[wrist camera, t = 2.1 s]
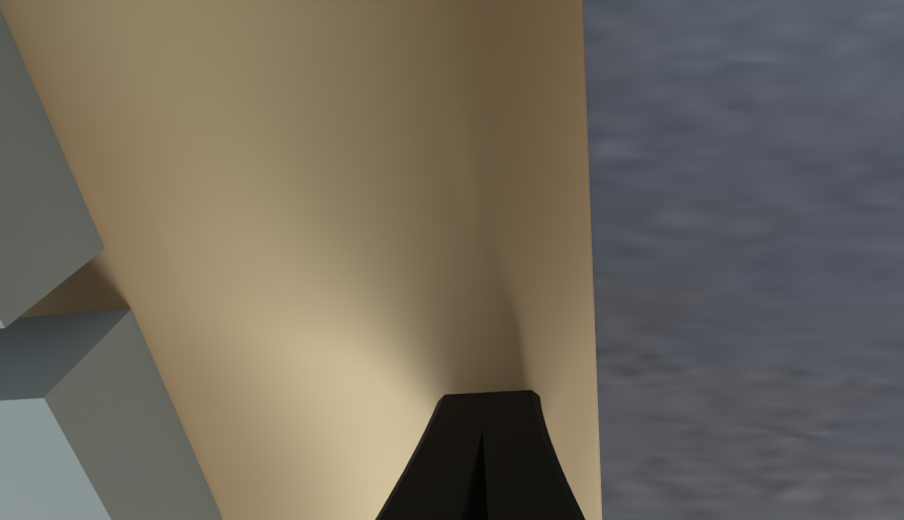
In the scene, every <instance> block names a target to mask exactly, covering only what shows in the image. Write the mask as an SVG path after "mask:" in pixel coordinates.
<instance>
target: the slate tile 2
mask: <svg viewBox="0 0 904 520" xmlns="http://www.w3.org/2000/svg"><path fill="white" fill-rule="evenodd" d="M222 519H223V518H222V515H221V513H220V511H219V508H218V506H217V504H216V501H215V499H214V497H213V495H212V492H211V490H210V488H209V485H208V483H207V481H206V479H205V476H204V474H203V472H202V469H201V467H200V465H199V463H198V460H197V458H196V456H195V453H194V451H193V449H192V446H191V444H190V442H189V440H188V437H187V435H186V433H185V430H184V428H183V426H182V424H181V421H180V419H179V417H178V414H177V412H176V410H175V408H174V405H173V403H172V401H171V398H170V396H169V394H168V391H167V389H166V387H165V385H164V382H163V380H162V378H161V375H160V373H159V371H158V369H157V366H156V364H155V362H154V359H153V357H152V355H151V352H150V350H149V348H148V346H147V343H146V341H145V339H144V336H143V334H142V332H141V330H140V327H139V325H138V323H137V320H136V318H135V316H134V314H133V311H132V309H122V310H110V311H97V312H84V313H71V314H59V315H46V316H33V317H21V318H17V319H16V320H15V321H13V322H12V323H11V324H10V325H8V326H7V327H6V328H0V520H222Z"/></svg>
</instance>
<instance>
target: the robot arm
mask: <svg viewBox="0 0 904 520" xmlns="http://www.w3.org/2000/svg"><path fill="white" fill-rule="evenodd" d="M375 520H585V517H584V515H583V513H582V511H581V509H580V507H579V505H578V503H577V501H576V498H575V496H574V494H573V492H572V490H571V488H570V486H569V484H568V481H567V479H566V477H565V474H564V472H563V470H562V467H561V465H560V463H559V460H558V457H557V455H556V452H555V449H554V447H553V444H552V442H551V439H550V436H549V433H548V430H547V426H546V423H545V419H544V415H543V411H542V406H541V399H540V396H539V395H538V394H537V393H535V392H534V391H533V390H519V391H500V392H482V393H463V394H445V395H444V396H443V397H442V398H441V399H440V400H439V401H438V402H437V404H436V407H435V409H434V411H433V414H432V416H431V418H430V420H429V422H428V424H427V426H426V429H425V431H424V433H423V435H422V437H421V439H420V441H419V443H418V445H417V447H416V448H415V450H414V452H413V454H412V456H411V458H410V460H409V462H408V463H407V465H406V467H405V469H404V471H403V473H402V474H401V476H400V478H399V480H398V481H397V483H396V485H395V486H394V488H393V490H392V492H391V493H390V495H389V497H388V499H387V500H386V502H385V504H384V505H383V507H382V509H381V511H380V512H379V514H378V516H377V517H376V519H375Z"/></svg>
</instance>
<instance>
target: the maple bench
mask: <svg viewBox="0 0 904 520" xmlns="http://www.w3.org/2000/svg"><path fill="white" fill-rule="evenodd" d="M0 9H1V11H2V13H3V15H4V18H5V20H6V22H7V25H8V27H9V29H10V32H11V34H12V36H13V38H14V41H15V43H16V45H17V48H18V50H19V52H20V54H21V57H22V59H23V61H24V64H25V66H26V68H27V70H28V73H29V75H30V77H31V80H32V82H33V84H34V87H35V89H36V91H37V93H38V96H39V98H40V100H41V103H42V105H43V107H44V109H45V112H46V114H47V116H48V119H49V121H50V123H51V126H52V128H53V130H54V132H55V135H56V137H57V139H58V142H59V144H60V146H61V148H62V151H63V153H64V155H65V158H66V160H67V162H68V164H69V167H70V169H71V171H72V174H73V176H74V178H75V181H76V183H77V185H78V187H79V190H80V192H81V194H82V197H83V199H84V201H85V203H86V206H87V208H88V210H89V213H90V215H91V217H92V220H93V222H94V224H95V226H96V229H97V231H98V233H99V236H100V238H101V240H102V242H103V245H104V247H105V248H104V249H103V250H102V251H101V252H99V253H98V254H97V255H96V256H94V257H93V258H92V259H91V260H89V261H88V262H87V263H86V264H84V265H83V266H82V267H81V268H79V269H78V270H77V271H76V272H75V273H73V274H72V275H71V276H70V277H68V278H67V279H66V280H65V281H63V282H62V283H61V284H60V285H58V286H57V287H56V288H55V289H53V290H52V291H51V292H50V293H48V294H47V295H46V296H45V297H43V298H42V299H41V300H40V301H38V302H37V303H36V304H35V305H33V306H32V307H31V308H30V309H28V310H27V311H26V312H25V313H23V314H22V315H21V316H20V317H18V318H21V317H33V316H46V315H59V314H71V313H84V312H97V311H110V310H122V309H132V311H133V314H134V316H135V318H136V320H137V323H138V325H139V327H140V330H141V332H142V334H143V336H144V339H145V341H146V343H147V346H148V348H149V350H150V352H151V355H152V357H153V359H154V362H155V364H156V366H157V369H158V371H159V373H160V375H161V378H162V380H163V382H164V385H165V387H166V389H167V391H168V394H169V396H170V398H171V401H172V403H173V405H174V408H175V410H176V412H177V414H178V417H179V419H180V421H181V424H182V426H183V428H184V430H185V433H186V435H187V437H188V440H189V442H190V444H191V446H192V449H193V451H194V453H195V456H196V458H197V460H198V463H199V465H200V467H201V469H202V472H203V474H204V476H205V479H206V481H207V483H208V485H209V488H210V490H211V492H212V495H213V497H214V499H215V501H216V504H217V506H218V508H219V511H220V513H221V515H222V518H223V519H222V520H375V519H376V517H377V516H378V514H379V512H380V511H381V509H382V507H383V505H384V504H385V502H386V500H387V499H388V497H389V495H390V493H391V492H392V490H393V488H394V486H395V485H396V483H397V481H398V480H399V478H400V476H401V474H402V473H403V471H404V469H405V467H406V465H407V463H408V462H409V460H410V458H411V456H412V454H413V452H414V450H415V448H416V447H417V445H418V443H419V441H420V439H421V437H422V435H423V433H424V431H425V429H426V426H427V424H428V422H429V420H430V418H431V416H432V414H433V411H434V409H435V407H436V404H437V402H438V401H439V400H440V399H441V398H442V397H443V396H444V395H445V394H463V393H482V392H500V391H519V390H533V391H534V392H535V393H537V394H538V395H539V396H540V399H541V406H542V411H543V415H544V419H545V423H546V426H547V430H548V433H549V436H550V439H551V442H552V444H553V447H554V449H555V452H556V455H557V457H558V460H559V463H560V465H561V467H562V470H563V472H564V474H565V477H566V479H567V481H568V484H569V486H570V488H571V490H572V492H573V494H574V496H575V498H576V501H577V503H578V505H579V507H580V509H581V511H582V513H583V515H584V517H585V520H602V506H601V479H600V452H599V426H598V399H597V372H596V346H595V319H594V292H593V266H592V239H591V212H590V186H589V159H588V133H587V106H586V79H585V53H584V26H583V0H0Z"/></svg>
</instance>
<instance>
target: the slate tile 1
mask: <svg viewBox="0 0 904 520" xmlns="http://www.w3.org/2000/svg"><path fill="white" fill-rule="evenodd" d="M104 248H105V247H104V245H103V242H102V240H101V238H100V236H99V233H98V231H97V229H96V226H95V224H94V222H93V220H92V217H91V215H90V213H89V210H88V208H87V206H86V203H85V201H84V199H83V197H82V194H81V192H80V190H79V187H78V185H77V183H76V181H75V178H74V176H73V174H72V171H71V169H70V167H69V164H68V162H67V160H66V158H65V155H64V153H63V151H62V148H61V146H60V144H59V142H58V139H57V137H56V135H55V132H54V130H53V128H52V126H51V123H50V121H49V119H48V116H47V114H46V112H45V109H44V107H43V105H42V103H41V100H40V98H39V96H38V93H37V91H36V89H35V87H34V84H33V82H32V80H31V77H30V75H29V73H28V70H27V68H26V66H25V64H24V61H23V59H22V57H21V54H20V52H19V50H18V48H17V45H16V43H15V41H14V38H13V36H12V34H11V32H10V29H9V27H8V25H7V22H6V20H5V18H4V15H3V13H2V11H1V9H0V328H6V327H7V326H8V325H10V324H11V323H12V322H13V321H15V320H16V319H17V318H18V317H20V316H21V315H22V314H23V313H25V312H26V311H27V310H28V309H30V308H31V307H32V306H33V305H35V304H36V303H37V302H38V301H40V300H41V299H42V298H43V297H45V296H46V295H47V294H48V293H50V292H51V291H52V290H53V289H55V288H56V287H57V286H58V285H60V284H61V283H62V282H63V281H65V280H66V279H67V278H68V277H70V276H71V275H72V274H73V273H75V272H76V271H77V270H78V269H79V268H81V267H82V266H83V265H84V264H86V263H87V262H88V261H89V260H91V259H92V258H93V257H94V256H96V255H97V254H98V253H99V252H101V251H102V250H103V249H104Z"/></svg>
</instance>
